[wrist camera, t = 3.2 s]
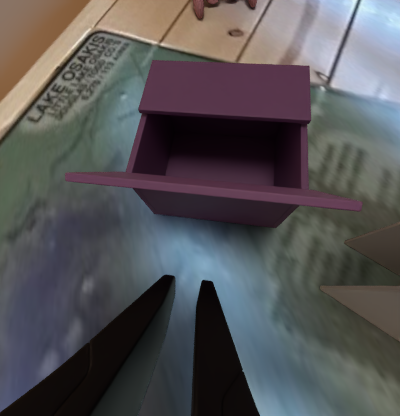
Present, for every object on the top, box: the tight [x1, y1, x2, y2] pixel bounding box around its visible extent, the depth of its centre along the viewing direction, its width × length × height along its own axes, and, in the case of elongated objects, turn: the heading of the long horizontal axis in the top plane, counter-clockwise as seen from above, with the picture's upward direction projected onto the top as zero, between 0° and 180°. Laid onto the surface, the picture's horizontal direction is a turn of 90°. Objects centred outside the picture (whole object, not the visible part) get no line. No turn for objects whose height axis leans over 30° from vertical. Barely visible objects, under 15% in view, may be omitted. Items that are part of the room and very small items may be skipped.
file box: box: [126, 60, 311, 228], centre depth 21 cm, size 11×13×9 cm
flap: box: [65, 172, 363, 211], centre depth 12 cm, size 5×13×1 cm
